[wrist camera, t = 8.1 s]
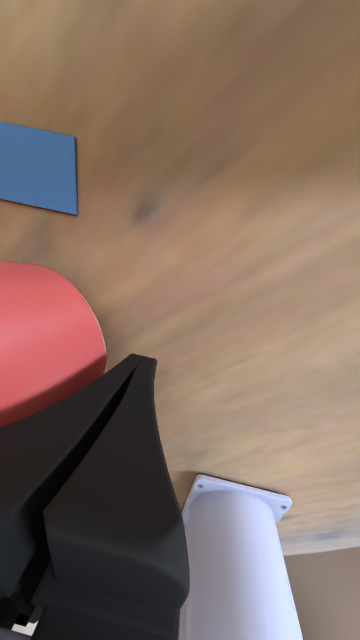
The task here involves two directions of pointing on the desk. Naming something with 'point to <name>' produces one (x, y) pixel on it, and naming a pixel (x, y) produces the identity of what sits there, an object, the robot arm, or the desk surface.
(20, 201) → the tape lane
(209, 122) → the desk surface
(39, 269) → the flower pot
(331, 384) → the desk surface
